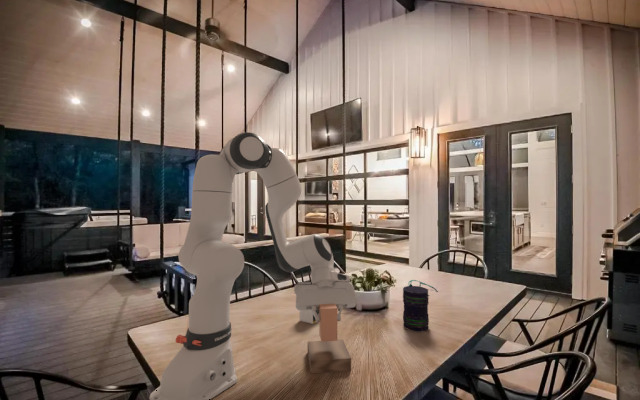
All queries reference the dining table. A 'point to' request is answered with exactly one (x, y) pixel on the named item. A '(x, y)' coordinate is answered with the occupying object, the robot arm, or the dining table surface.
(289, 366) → the dining table surface
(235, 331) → the dining table surface
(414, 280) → the sunglasses
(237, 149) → the robot arm
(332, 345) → the walnut block
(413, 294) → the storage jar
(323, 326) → the terracotta block
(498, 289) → the dining table surface
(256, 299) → the dining table surface
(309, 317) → the medicine bottle
